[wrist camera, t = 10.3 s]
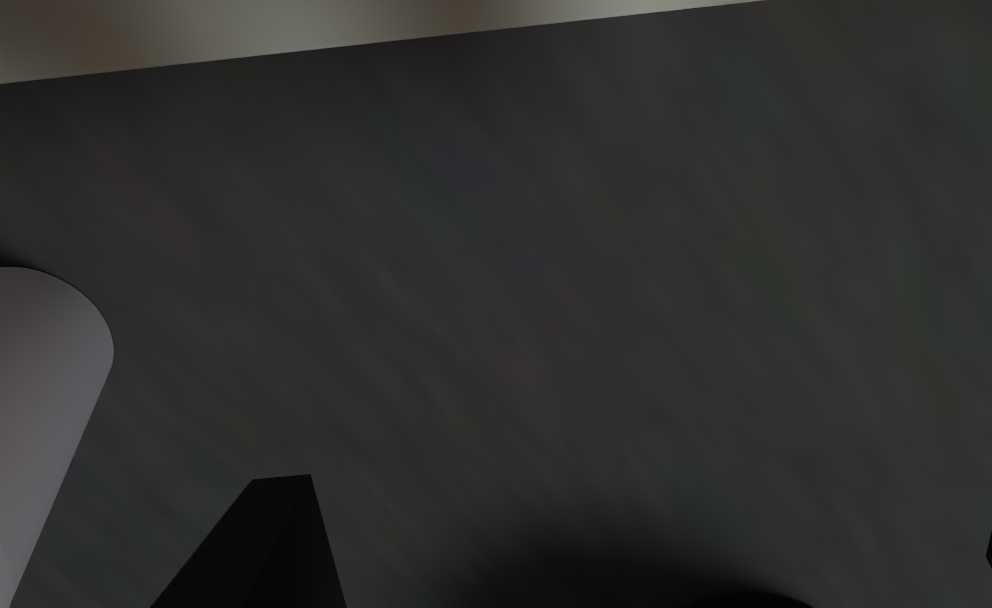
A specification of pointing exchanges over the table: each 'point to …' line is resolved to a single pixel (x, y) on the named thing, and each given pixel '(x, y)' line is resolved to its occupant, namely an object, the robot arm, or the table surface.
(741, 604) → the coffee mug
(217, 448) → the table surface
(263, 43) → the board
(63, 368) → the smoothie
